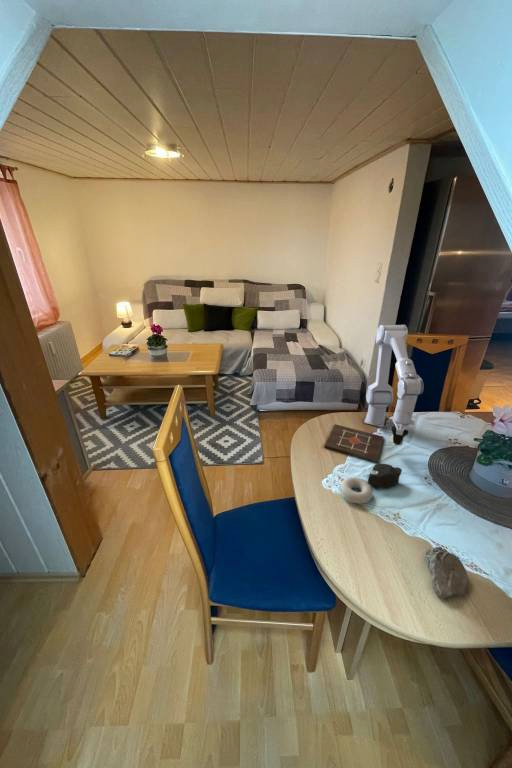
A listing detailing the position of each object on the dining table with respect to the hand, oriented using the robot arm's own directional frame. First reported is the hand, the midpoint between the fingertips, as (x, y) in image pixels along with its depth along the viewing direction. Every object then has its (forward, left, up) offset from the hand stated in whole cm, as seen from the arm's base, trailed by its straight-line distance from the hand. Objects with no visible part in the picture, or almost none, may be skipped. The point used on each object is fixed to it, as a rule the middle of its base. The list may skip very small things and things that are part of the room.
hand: (396, 439), depth 112 cm
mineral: (+17, -2, -7) cm, 18 cm away
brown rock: (+43, +15, -7) cm, 46 cm away
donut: (+26, -9, -7) cm, 29 cm away
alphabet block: (0, 0, -2) cm, 2 cm away
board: (0, -15, -7) cm, 16 cm away
